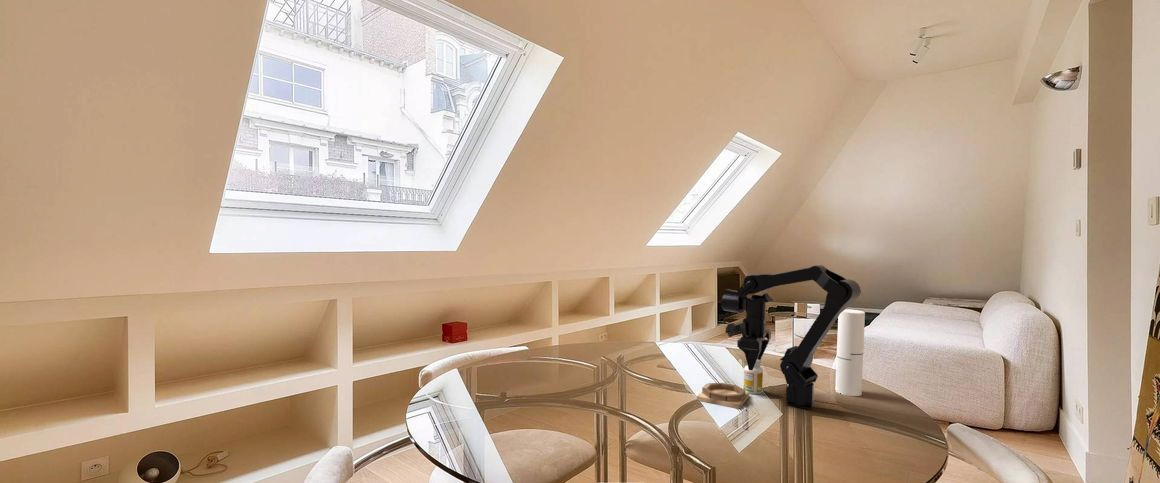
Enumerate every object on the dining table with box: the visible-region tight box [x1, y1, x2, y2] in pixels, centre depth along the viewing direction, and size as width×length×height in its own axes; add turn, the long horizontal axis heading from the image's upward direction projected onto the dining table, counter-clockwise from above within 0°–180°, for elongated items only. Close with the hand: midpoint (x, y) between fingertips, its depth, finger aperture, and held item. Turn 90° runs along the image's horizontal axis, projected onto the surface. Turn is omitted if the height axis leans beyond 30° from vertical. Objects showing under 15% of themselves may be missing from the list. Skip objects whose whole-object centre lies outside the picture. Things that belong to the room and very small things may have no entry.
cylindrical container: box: [834, 308, 866, 397], centre depth 157 cm, size 7×7×25 cm
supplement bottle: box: [743, 359, 764, 395], centre depth 157 cm, size 5×5×10 cm
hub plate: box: [696, 382, 750, 410], centre depth 150 cm, size 12×12×3 cm
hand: (754, 366), depth 156 cm, fingers open, 9 cm apart
